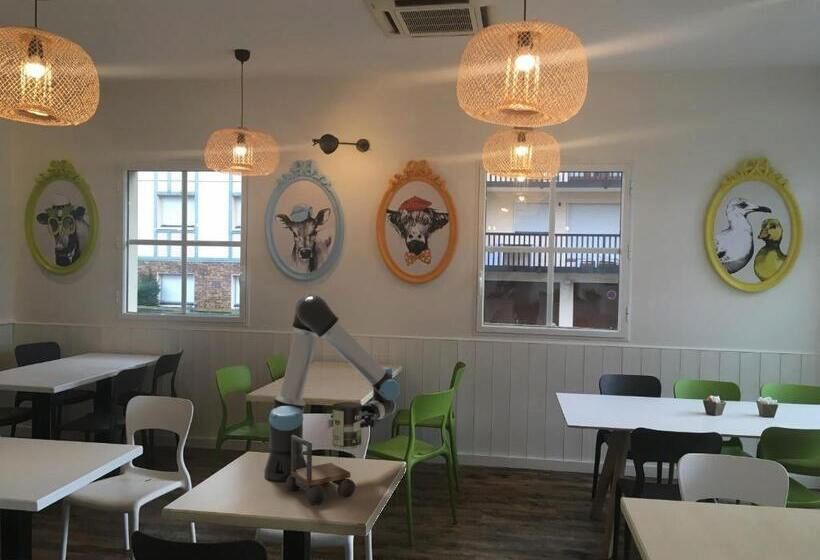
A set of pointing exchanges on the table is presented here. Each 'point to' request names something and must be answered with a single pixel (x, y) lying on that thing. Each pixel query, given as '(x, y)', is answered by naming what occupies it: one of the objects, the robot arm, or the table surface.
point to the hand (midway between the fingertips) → (340, 425)
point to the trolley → (317, 476)
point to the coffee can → (346, 425)
